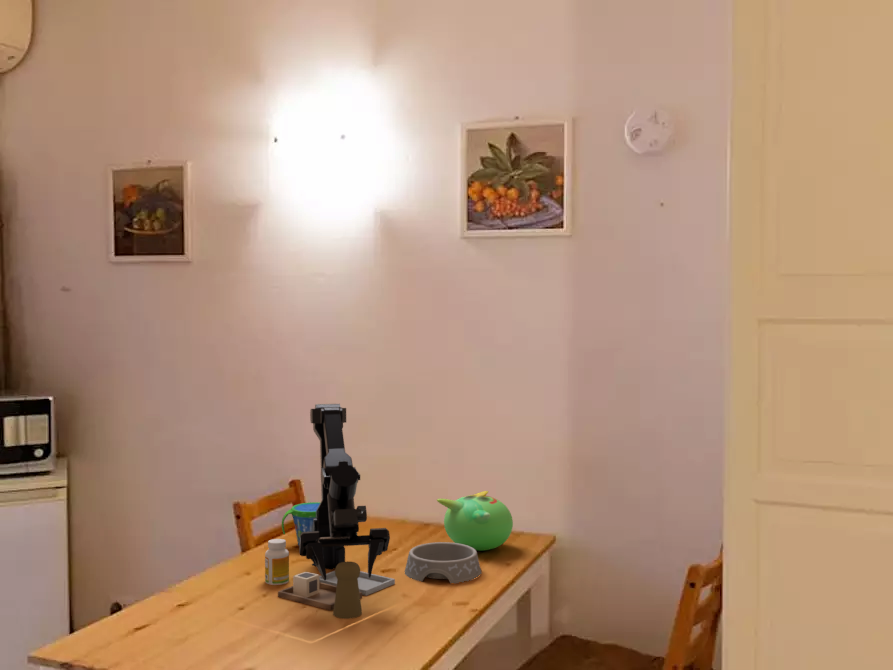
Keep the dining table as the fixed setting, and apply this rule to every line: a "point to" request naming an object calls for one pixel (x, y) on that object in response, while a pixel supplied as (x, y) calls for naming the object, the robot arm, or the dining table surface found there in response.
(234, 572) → the dining table surface
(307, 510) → the snack cup
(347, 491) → the robot arm
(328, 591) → the walnut tray
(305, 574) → the beige and grey cube
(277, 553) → the supplement bottle
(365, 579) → the grey tray
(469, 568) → the dog bowl
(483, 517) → the green creature toy
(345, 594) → the brown rounded upright piece
